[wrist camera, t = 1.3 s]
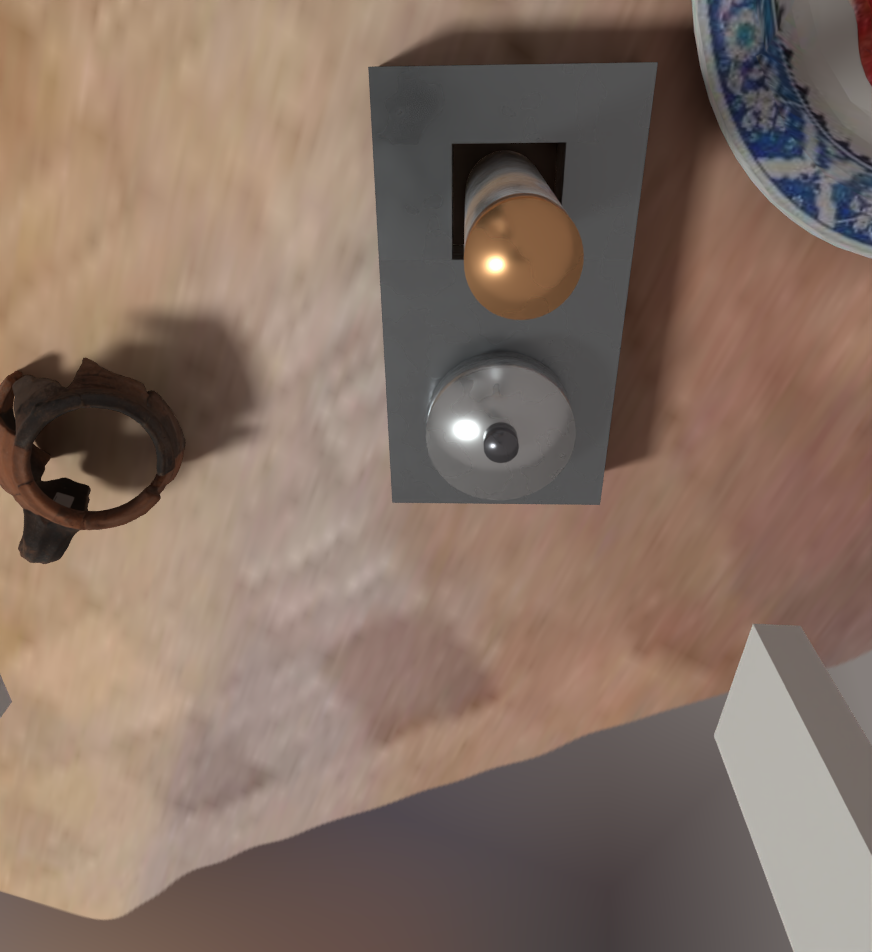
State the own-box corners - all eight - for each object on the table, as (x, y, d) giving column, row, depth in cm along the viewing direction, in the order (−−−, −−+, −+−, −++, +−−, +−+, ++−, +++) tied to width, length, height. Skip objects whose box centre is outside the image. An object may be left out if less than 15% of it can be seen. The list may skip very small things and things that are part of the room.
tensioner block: (377, 66, 29) (357, 67, 24) (640, 62, 28) (679, 61, 23) (397, 473, 39) (386, 535, 34) (591, 475, 39) (610, 538, 34)
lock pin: (465, 150, 30) (464, 198, 19) (544, 149, 30) (589, 198, 19) (464, 232, 32) (463, 320, 21) (539, 232, 32) (578, 320, 21)
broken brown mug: (4, 311, 36) (0, 354, 29) (187, 357, 41) (218, 402, 35) (-37, 515, 39) (-48, 594, 32) (139, 533, 44) (159, 604, 38)
